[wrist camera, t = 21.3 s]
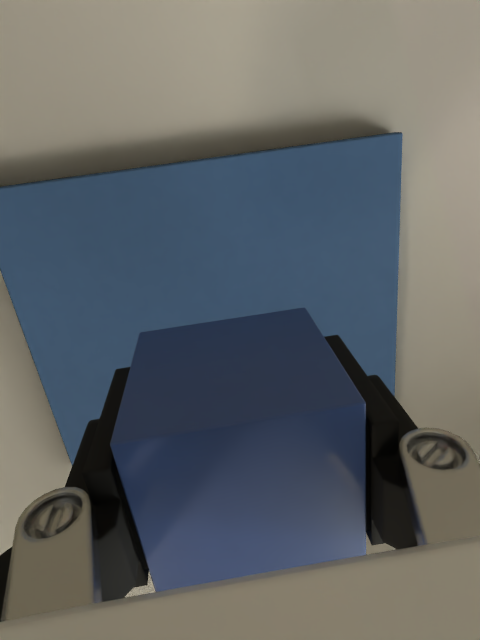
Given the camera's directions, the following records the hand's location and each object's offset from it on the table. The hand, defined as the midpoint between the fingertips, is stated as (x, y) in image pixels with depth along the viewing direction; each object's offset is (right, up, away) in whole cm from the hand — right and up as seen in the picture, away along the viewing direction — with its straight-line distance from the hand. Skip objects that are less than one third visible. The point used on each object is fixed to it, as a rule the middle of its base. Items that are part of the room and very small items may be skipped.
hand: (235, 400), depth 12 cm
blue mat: (-1, +2, +5) cm, 5 cm away
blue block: (0, 0, 0) cm, 1 cm away
